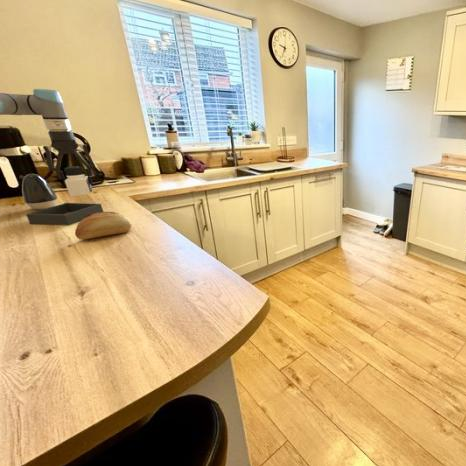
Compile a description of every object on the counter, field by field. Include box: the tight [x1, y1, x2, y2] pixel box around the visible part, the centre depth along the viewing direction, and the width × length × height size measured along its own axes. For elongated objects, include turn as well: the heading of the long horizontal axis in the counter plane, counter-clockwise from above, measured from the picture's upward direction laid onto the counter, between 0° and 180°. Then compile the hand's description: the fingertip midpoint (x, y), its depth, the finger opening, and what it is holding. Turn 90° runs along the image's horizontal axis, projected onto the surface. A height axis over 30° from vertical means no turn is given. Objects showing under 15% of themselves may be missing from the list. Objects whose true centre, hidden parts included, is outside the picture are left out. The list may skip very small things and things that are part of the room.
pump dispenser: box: [19, 173, 58, 211], centre depth 126 cm, size 10×10×15 cm
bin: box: [25, 202, 104, 226], centre depth 116 cm, size 16×16×4 cm
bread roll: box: [74, 211, 132, 240], centre depth 99 cm, size 10×15×8 cm, turn 137°
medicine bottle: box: [63, 166, 94, 197], centre depth 127 cm, size 7×7×12 cm
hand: (78, 184), depth 128 cm, fingers closed on medicine bottle, 8 cm apart
